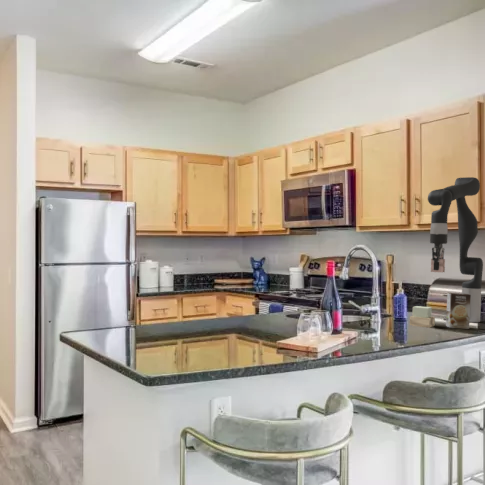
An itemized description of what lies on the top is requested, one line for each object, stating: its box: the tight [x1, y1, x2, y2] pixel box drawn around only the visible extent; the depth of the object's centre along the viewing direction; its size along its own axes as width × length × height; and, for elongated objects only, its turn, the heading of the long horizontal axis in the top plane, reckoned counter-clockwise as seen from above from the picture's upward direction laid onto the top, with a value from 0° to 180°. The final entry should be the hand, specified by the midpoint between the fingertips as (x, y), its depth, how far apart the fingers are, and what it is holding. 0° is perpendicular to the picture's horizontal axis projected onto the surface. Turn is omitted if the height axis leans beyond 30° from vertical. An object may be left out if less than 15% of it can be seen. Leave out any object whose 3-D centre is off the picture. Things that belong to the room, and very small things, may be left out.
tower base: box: [409, 316, 436, 329], centre depth 256 cm, size 9×9×4 cm
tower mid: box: [411, 305, 433, 318], centre depth 257 cm, size 7×7×4 cm
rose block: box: [430, 258, 446, 273], centre depth 249 cm, size 5×5×6 cm
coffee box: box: [445, 292, 471, 330], centre depth 254 cm, size 9×6×16 cm
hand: (437, 269), depth 249 cm, fingers closed on rose block, 5 cm apart
